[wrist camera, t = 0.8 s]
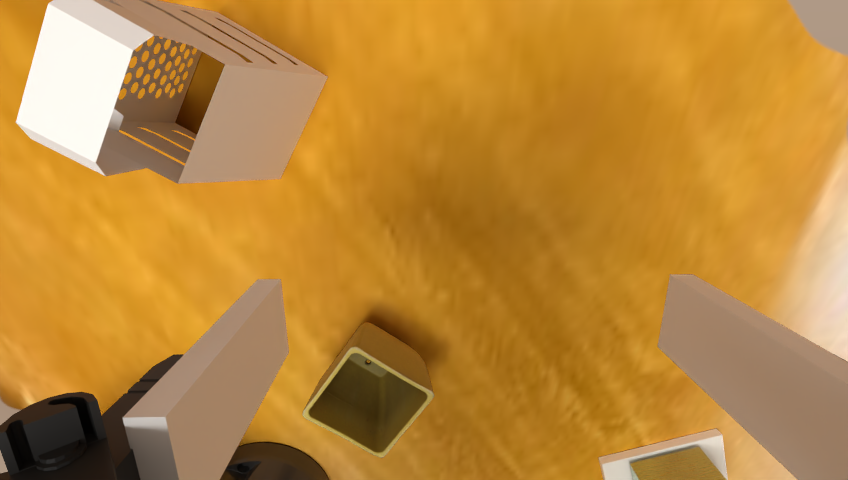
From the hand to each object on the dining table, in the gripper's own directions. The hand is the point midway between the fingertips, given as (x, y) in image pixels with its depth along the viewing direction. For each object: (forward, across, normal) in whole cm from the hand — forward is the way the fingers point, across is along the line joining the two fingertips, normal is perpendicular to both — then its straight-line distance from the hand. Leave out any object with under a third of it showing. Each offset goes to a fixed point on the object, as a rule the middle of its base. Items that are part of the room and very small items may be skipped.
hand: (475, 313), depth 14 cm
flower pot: (+28, +6, +18) cm, 33 cm away
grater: (+27, +17, -8) cm, 33 cm away
